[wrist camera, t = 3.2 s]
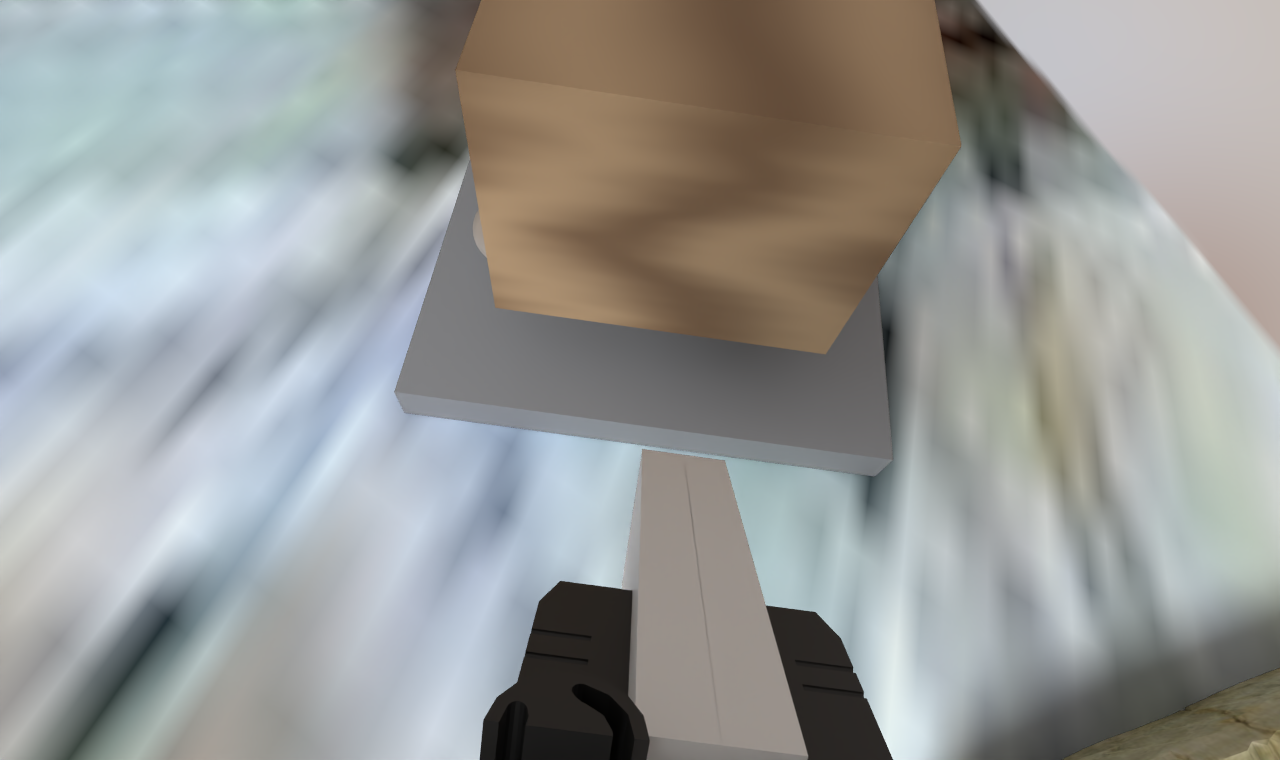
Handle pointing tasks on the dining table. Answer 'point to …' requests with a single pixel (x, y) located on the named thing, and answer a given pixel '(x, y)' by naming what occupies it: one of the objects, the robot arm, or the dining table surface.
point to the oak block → (702, 157)
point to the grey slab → (641, 375)
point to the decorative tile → (1206, 729)
